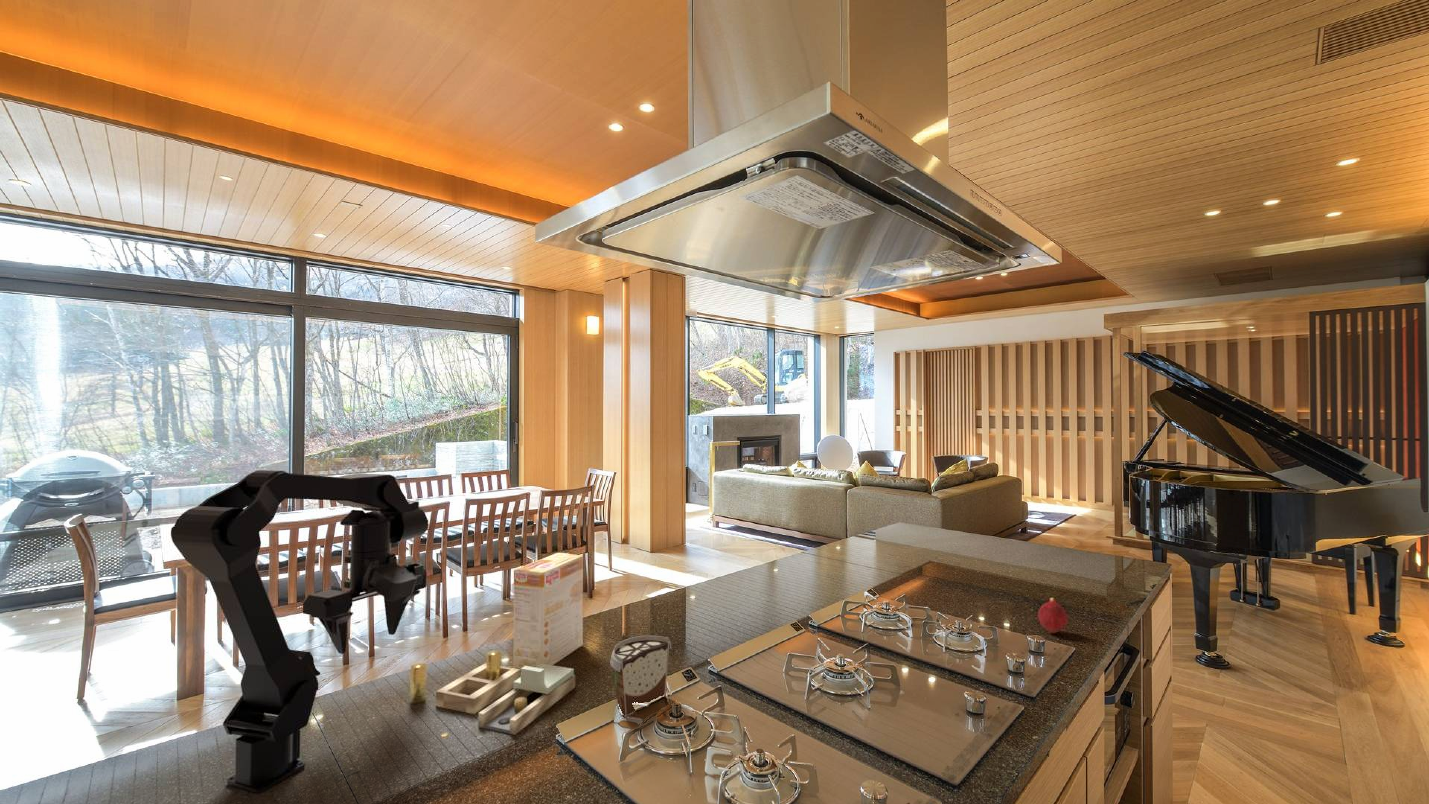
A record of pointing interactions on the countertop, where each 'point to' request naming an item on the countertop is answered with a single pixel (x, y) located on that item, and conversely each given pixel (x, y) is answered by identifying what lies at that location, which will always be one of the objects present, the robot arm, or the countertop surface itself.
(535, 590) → the coffeecake box
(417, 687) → the pin
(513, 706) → the housing
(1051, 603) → the onion
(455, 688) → the socket board
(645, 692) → the food container
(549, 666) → the lid
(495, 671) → the pin
